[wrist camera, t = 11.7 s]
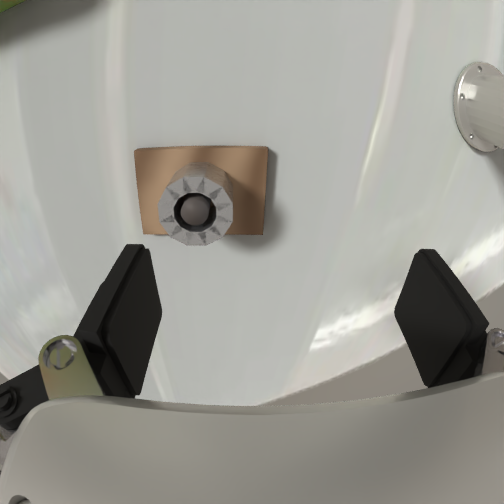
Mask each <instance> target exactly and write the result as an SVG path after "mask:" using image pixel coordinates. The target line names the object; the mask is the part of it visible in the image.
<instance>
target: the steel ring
mask: <svg viewBox="0 0 504 504" xmlns="http://www.w3.org/2000/svg"><path fill="white" fill-rule="evenodd" d="M187 193H201V194H203V195H205V196H207V197H209V198H211V200H212V202H213V203H214V206H213V207H211V208H210V209H209V214H208V218H207V220H206V221H205V222H204V223H202V224H200V225H190V224H188V223H186V222H185V221H184V220H183V218H182V216H181V208H182V206H183V203H184V200H183V198H182V196H184V195H185V194H187ZM158 213H159V222H160V224H161V225H162V226H163V228H164V229H165V230H166V232H167V233H168V234H169V236H170V237H171V238H173V239H175V240H177V241H179V242H181V243H184V244H186V245H208V244H210V243H212V242H214V241H216V240H218V239H220V238H222V237H223V236H224V234H225V233H226V231H227V230H228V228H229V227H230V225H231V224H232V222H233V184H232V183H231V181H230V179H229V178H228V176H227V174H226V173H225V171H224V170H222V169H220V168H219V167H217V166H215V165H213V164H211V163H209V162H190V163H189V164H187V165H185V166H184V167H182V168H180V169H179V170H177V171H176V172H175V173H174V175H173V176H172V178H171V180H170V181H169V183H168V185H167V186H166V188H165V190H164V192H163V194H162V196H161V198H160V200H159V202H158Z"/></svg>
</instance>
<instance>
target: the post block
mask: <svg viewBox="0 0 504 504" xmlns="http://www.w3.org/2000/svg"><path fill="white" fill-rule="evenodd" d="M134 157H135V168H136V178H137V188H138V197H139V205H140V213H141V220H142V227H143V234H168V233H167V232H166V230H165V229H164V228H163V226H162V225H161V224H160V222H159V213H158V202H159V200H160V198H161V196H162V194H163V192H164V190H165V188H166V186H167V185H168V183H169V181H170V180H171V178H172V176H173V175H174V173H175V172H176V171H177V170H179V169H180V168H182V167H184V166H185V165H187V164H189V163H190V162H209V163H211V164H213V165H215V166H217V167H219V168H220V169H222V170H224V171H225V173H226V174H227V176H228V178H229V179H230V181H231V183H232V184H233V222H232V224H231V225H230V227H229V228H228V230H227V231H226V233H225V234H244V235H263V224H264V208H265V191H266V175H267V158H268V148H267V147H263V146H178V147H156V148H140V149H136V150H135V151H134ZM182 198H183V200H184V203H183V206H182V208H181V216H182V218H183V220H184V221H185V222H186V223H188V224H190V225H200V224H202V223H204V222H205V221H206V220H207V218H208V214H209V209H210V208H211V207H213V206H214V203H213V202H212V200H211V198H209V197H207V196H205V195H203V194H201V193H187V194H185V195H184V196H182Z"/></svg>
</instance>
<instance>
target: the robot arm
mask: <svg viewBox="0 0 504 504" xmlns="http://www.w3.org/2000/svg"><path fill="white" fill-rule="evenodd" d="M454 113H455V118H456V122H457V125H458V127H459V130H460V132H461V134H462V136H463V137H464V139H465V140H466V141H467V142H468V143H469V144H470V145H471V146H472V147H474V148H476V149H478V150H480V151H484V152H491V151H495V150H497V149H498V148H502V149H504V76H503V74H502V73H501V72H500V71H499V70H498V69H497V68H495V67H494V66H493V65H490V64H488V63H482V62H475V63H472V64H470V65H468V66H467V67H465V68H464V70H463V71H462V72H461V73H460V75H459V77H458V79H457V83H456V86H455V91H454ZM394 314H395V318H396V320H397V322H398V324H399V326H400V329H401V331H402V333H403V335H404V337H405V340H406V342H407V344H408V347H409V349H410V351H411V354H412V356H413V358H414V361H415V363H416V366H417V368H418V370H419V373H420V376H421V378H422V381H423V383H424V385H425V386H428V388H427V389H422V390H417V391H412V392H407V393H401V394H395V395H389V396H382V397H376V398H369V399H361V400H353V401H344V402H333V403H323V404H307V405H288V406H220V405H200V404H185V403H172V402H161V401H151V400H142V399H135V395H140V393H141V390H142V386H143V382H144V378H145V374H146V371H147V367H148V363H149V359H150V356H151V352H152V348H153V345H154V341H155V338H156V334H157V331H158V328H159V324H160V321H161V317H162V307H161V303H160V298H159V294H158V289H157V285H156V280H155V275H154V270H153V265H152V260H151V254H150V251H149V249H145V247H144V245H143V244H127V245H126V246H125V247H124V249H123V251H122V252H121V254H120V256H119V257H118V259H117V261H116V262H115V264H114V266H113V267H112V269H111V271H110V272H109V274H108V276H107V278H106V279H105V281H104V282H103V283H102V284H101V285H100V287H99V289H98V291H97V293H96V294H95V296H94V298H93V300H92V302H91V303H90V305H89V307H88V309H87V311H86V313H85V315H84V317H83V318H82V320H81V322H80V324H79V326H78V328H77V330H76V332H75V334H74V336H69V335H60V336H57V337H54V338H53V339H51V340H49V341H48V342H47V343H46V344H45V345H44V346H43V347H42V349H41V351H40V354H39V365H37V366H35V367H33V368H32V369H30V370H28V371H26V372H24V373H22V374H20V375H18V376H16V377H15V378H13V379H11V380H9V381H7V382H5V383H3V384H1V385H0V504H504V330H502V329H499V328H494V329H491V330H490V331H489V332H488V334H487V333H486V331H485V330H486V328H487V327H488V325H489V322H488V321H487V319H486V318H485V316H484V315H483V313H482V312H481V310H480V309H479V308H478V306H477V304H476V303H475V302H474V300H473V299H472V297H471V296H470V294H469V293H468V292H467V290H466V289H465V288H464V286H463V285H462V283H461V282H460V281H459V279H458V278H457V277H456V275H455V274H454V273H453V272H452V270H451V269H450V268H449V266H448V265H447V264H446V263H445V261H444V260H443V259H442V258H441V256H440V255H439V254H438V253H437V251H436V250H434V249H420V250H419V251H418V253H416V254H415V255H414V258H413V261H412V264H411V266H410V269H409V272H408V275H407V278H406V280H405V283H404V286H403V288H402V291H401V294H400V296H399V299H398V301H397V304H396V306H395V310H394Z"/></svg>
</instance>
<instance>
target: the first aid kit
mask: <svg viewBox="0 0 504 504" xmlns="http://www.w3.org/2000/svg"><path fill="white" fill-rule="evenodd" d="M24 1H25V0H0V13H1V12H3V11H5V10H7V9H9V8H11V7H13V6H15V5H17V4H19V3H21V2H24Z"/></svg>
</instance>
